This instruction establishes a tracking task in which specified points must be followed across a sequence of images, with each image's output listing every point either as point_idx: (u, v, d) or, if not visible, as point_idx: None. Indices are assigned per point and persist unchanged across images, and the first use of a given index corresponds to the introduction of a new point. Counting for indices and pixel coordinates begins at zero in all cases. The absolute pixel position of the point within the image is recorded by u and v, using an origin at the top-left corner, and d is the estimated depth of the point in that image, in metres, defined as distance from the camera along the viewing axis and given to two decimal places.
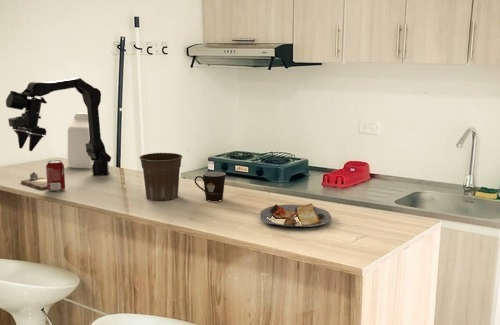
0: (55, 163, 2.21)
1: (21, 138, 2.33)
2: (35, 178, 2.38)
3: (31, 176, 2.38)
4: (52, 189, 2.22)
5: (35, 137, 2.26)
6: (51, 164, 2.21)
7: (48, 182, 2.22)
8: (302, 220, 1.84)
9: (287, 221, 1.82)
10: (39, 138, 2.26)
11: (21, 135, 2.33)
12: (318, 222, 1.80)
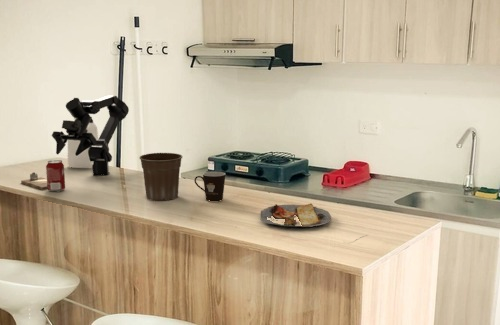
0: (55, 163, 2.21)
1: (60, 145, 2.34)
2: (35, 178, 2.38)
3: (31, 176, 2.38)
4: (52, 189, 2.22)
5: (84, 144, 2.32)
6: (51, 164, 2.21)
7: (48, 182, 2.22)
8: (302, 220, 1.84)
9: (287, 221, 1.82)
10: (87, 147, 2.33)
11: (60, 143, 2.35)
12: (318, 222, 1.80)
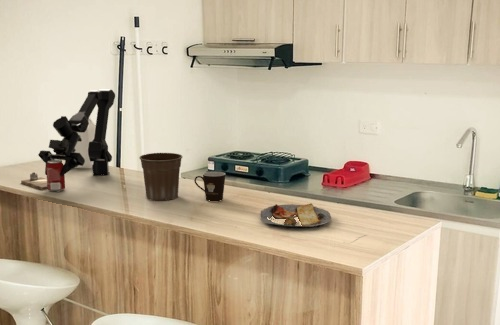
0: (55, 163, 2.21)
1: None
2: (35, 178, 2.38)
3: (31, 176, 2.38)
4: (52, 189, 2.22)
5: (69, 164, 2.25)
6: (51, 164, 2.21)
7: (48, 182, 2.22)
8: (302, 220, 1.84)
9: (287, 221, 1.82)
10: (72, 166, 2.26)
11: None
12: (318, 222, 1.80)
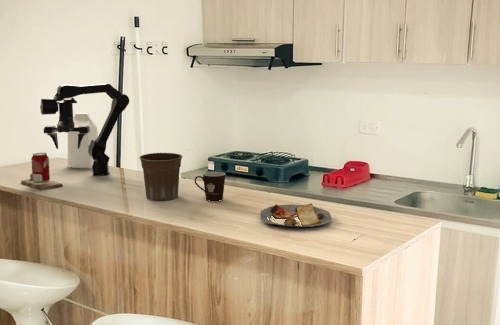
0: (37, 155, 2.30)
1: (56, 139, 2.46)
2: None
3: (31, 176, 2.38)
4: (34, 180, 2.32)
5: None
6: (34, 156, 2.30)
7: (32, 173, 2.33)
8: (302, 220, 1.84)
9: (287, 221, 1.82)
10: (83, 135, 2.49)
11: (55, 137, 2.45)
12: (318, 222, 1.80)
